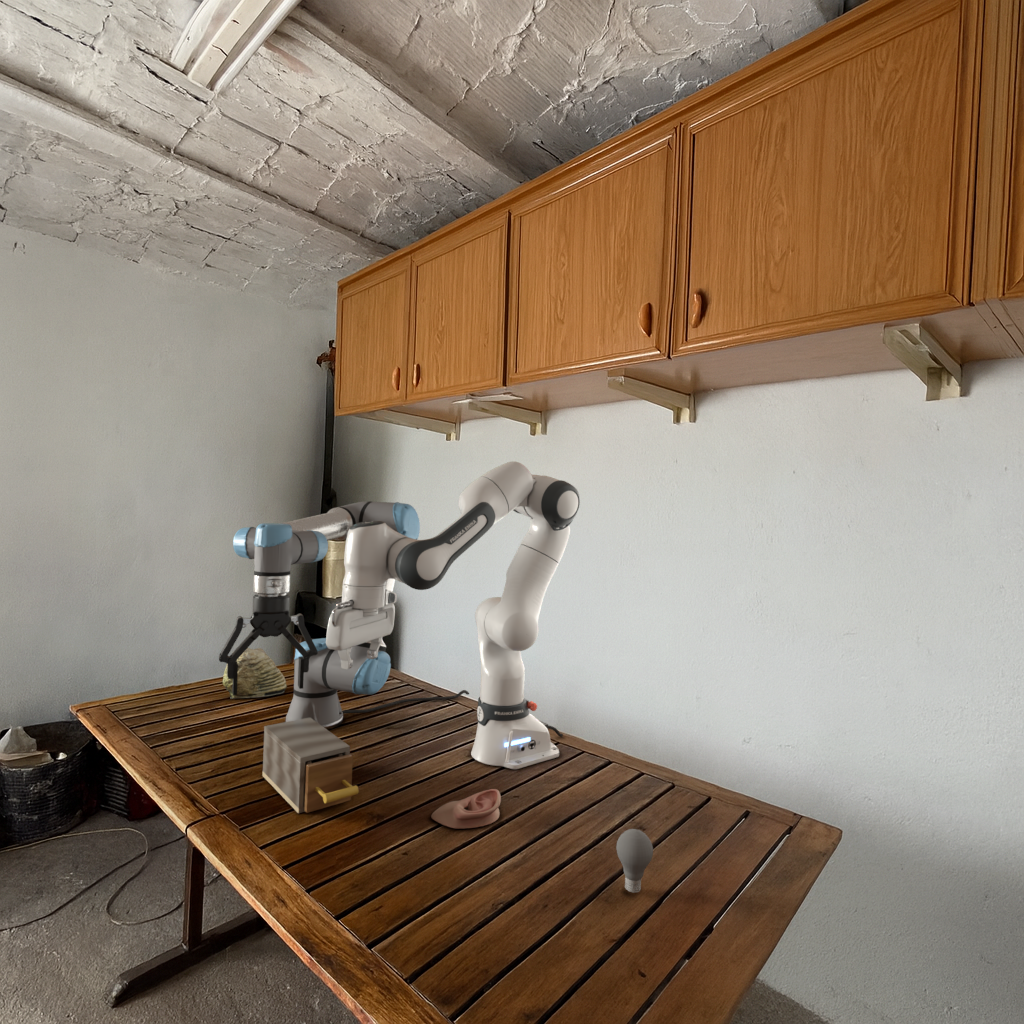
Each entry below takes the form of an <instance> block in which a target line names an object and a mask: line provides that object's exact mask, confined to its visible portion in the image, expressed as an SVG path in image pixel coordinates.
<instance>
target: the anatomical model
mask: <svg viewBox="0 0 1024 1024" xmlns="http://www.w3.org/2000/svg"><path fill="white" fill-rule="evenodd" d="M501 802H502V796H501V792H500V791H499V790H498V789H496V788H491V789H486V790H483V791H480V792H477V793H474V794H472V795H469V796H468V797H465V798H463V799H460V800H452V801H449V802H447V803H445V804H443V805H441V806H439V807H438V808H437V809H435V810H434V811H433V812H432V814H431V815H430V817H431V819H432V820H433V821H435V822H436V823H439V824H440V825H442V826H445V827H448V828H450V829H458V830H459V829H464V830H465V829H474V828H479V827H480V828H481V827H484V826H488V825H491V824H492V823H495V822H496V821H497V820H498V819H499V818H500V814H501V813H500V809H499V807H500V805H501Z"/></svg>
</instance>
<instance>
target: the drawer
mask: <svg viewBox="0 0 1024 1024" xmlns="http://www.w3.org/2000/svg"><path fill="white" fill-rule="evenodd" d="M353 760H354V756H353V754H351V753H350V754H348V755H344V756H343V754H342V753H339V754H335V755H331V756H327V757H323V758H319V759H314V760H310V761H306V762H305V780H304V803H305V810H304V811H305V812H304V813H305V814H308V813H311V812H314V811H319V810H322V809H326V808H329V807H332V806H335V805H339V804H342V803H346V802H349V801H352V797H353V796H357V795H359V792H360V791H359V787H358V785H356V784H355V785H352V784H353V763H354V762H353Z"/></svg>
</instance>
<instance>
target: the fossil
mask: <svg viewBox="0 0 1024 1024" xmlns="http://www.w3.org/2000/svg"><path fill="white" fill-rule="evenodd" d="M236 661H237V663H238V679H237V695H233V692H232V686H233V679H228V676H227V668H228V664H227V663H226V666H225V668H224V671H223V675H222V676H223V677H222V685H223V687H224V688H225V690H226V691H228V693H229V698H230V699H250V698H264V697H271V696H275V695H281V694H284V693H285V691H286V689H287V687H288V686H287V680H286V678H285V676H284V674H283V673H282V672H281V669H279V668H278V667H277V665H276V663H275V662H274V660H273V659H272V658H271V657H270V656H269V655H268V654H267V653H266V652H265V650H264V649H263V648H260V647H258V648H251V647H248V648H247V649H246V650H245V651H244V652H243V653H242V655H241V656H240V657H239V658H238V659H237V660H236Z"/></svg>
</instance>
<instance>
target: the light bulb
mask: <svg viewBox="0 0 1024 1024" xmlns="http://www.w3.org/2000/svg"><path fill="white" fill-rule="evenodd" d="M615 849H616V854H617V857H618V859H619V861H620V863H621V865H622V867H623V873H624V874H623V875H624V876H625V878H624V888H625V890H627V891H628V892H630V893H634V894H635V893H639V892H640V891H641V889H642V887H641V886H642V879H643V877H644V875H645V871H646V868H647V867H648V866H649V864H650V863H651V861H652V859H653V855H654V847H653V843H652V841H651V838H649V836H648V835H647V834H646V833H645V832H643V831H642V830H641V829H636V828H629V829H627V830H625V831H623V832H622V833H621V834H620V835H619V837H618V839H617V841H616V847H615Z"/></svg>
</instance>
